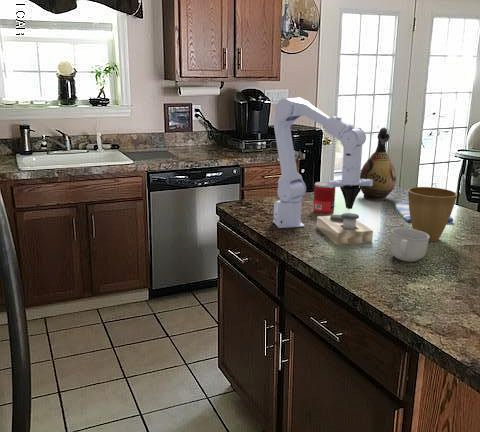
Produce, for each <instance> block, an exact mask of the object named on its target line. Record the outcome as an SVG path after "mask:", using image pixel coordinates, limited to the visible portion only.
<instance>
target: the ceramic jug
mask: <svg viewBox="0 0 480 432" xmlns="http://www.w3.org/2000/svg"><path fill="white" fill-rule="evenodd" d="M377 139H378V141H377V147H376V149H375V151H374V152H372V154H371V155H370V157H369V158H368V159H367V161H366V162H365V163H364V164H363V166H362V167H361V171H360V179H371V180H373V186H359V187H360V188H361V190H360V192H361V193H362V194H363V199H364V200H368V201H374V202H375V201H378V202H379V201H380V202H381V201H385V200H386V199H387V197H388V196H389V195H390V193H392V192H393V191H394V189H395V187H396V184H397V175H396V171H395V167H394V165H393V163H392V160H391V159H390V156H389V154H388V152H387V149H386V143H388V142H389V139H390V134H389V133H388V128H386V127H381V128H380V129H379V132H378V133H377Z"/></svg>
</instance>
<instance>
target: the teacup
mask: <svg viewBox="0 0 480 432" xmlns="http://www.w3.org/2000/svg"><path fill="white" fill-rule="evenodd" d="M429 238H430V236H429V235H428V234H427V233H425V232H422V231H419V230H415V229H413V228H408V227H394V228H392V229H391V231H390V239H389V250H390V252H391V254H392V255H393V256H394V257H395V258H396V259H398V260H400V261H403V262H410V263H412V262H417V261H419V260H421V259H423V258H424V256H425V255H426V253H427V250H428V246H429V242H428V241H429Z"/></svg>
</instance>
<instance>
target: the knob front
mask: <svg viewBox="0 0 480 432" xmlns="http://www.w3.org/2000/svg"><path fill="white" fill-rule="evenodd" d="M340 215H341V217H342V218H344V219H343V229H344V230H352V229H355V228H356V220H358V219H359V218H360V216H359V214H357V213H353V212H345V213H341V214H340Z"/></svg>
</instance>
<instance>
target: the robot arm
mask: <svg viewBox="0 0 480 432" xmlns="http://www.w3.org/2000/svg"><path fill="white" fill-rule="evenodd" d="M274 113H275V114H274V119H273V128H274V134H275V142H276V147H277V154H278V160H279V166H280V172H281V175H280V177H279V178H278V180H277V191H276V192H277V196H278V198H279V200H276V201H274V203H273V220H272V222H273V224H275V226H276V227H277V229H278V228H279V229H281V228H283V229H284V228H285V229H286V228H301V227H302V228H304V227H305V224H304V223H302V205H303V204H302V203H303V197H304V196H305V194H306V192H307V186H306V183H305V181H304V180H303V176H302V175H301V174H300V172H298V167H297V163H296V162H297V161H296V156H295V148H294V144H293V137H292V131H291V127H292V125H293V124H294V123H295V121H296V120H298V119H299V118H300V117H302V116H305V117H307V118H308V119H310V120H311V121H312V120H313V121H314V122H316V123H318V124H319V125H322V126H323V128H324V131H325V133H327V134H329V135H330V136H331V137H333V138H335V139H336V140H338V141H339V142H340V143H341V145H342V148H343V149H342V151H343V153H342V169H341V170H342V172H341V178H340V179H333V180H328V181H327V182H328V187H330V188H333V187H335V188H340V191H341V194H342V197H343V200H344V203H345V208H346V209H347V210H353V207H354V204H355V201H356V199H357V197H358V195H359V193H360V192H361V188H360V187H359V186H373V180H371V179H360V172H361V170H362V153H363V145H364V144H365V142H366V140H367V135H366V132H365V131H364V130H363V129H362V128H361V127H354V125H353V124H350V123H349V124H348V123H347V122H345V121H344V120H343V119H342V117H341V116H338V115H337V116H336V115H333V116H331V117H330V116H328V115H327V114H326V113H324V112H323V111H321V110H320V109H319V108H317V107H315V106H314V105H313V104H311V103H310V102H309V101H308V100H305V99H304V98H302V97H299V96H298V97H289V98H286V97H283V98H281V99H279V100H278V102H277V103H276V104H275V106H274Z"/></svg>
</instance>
